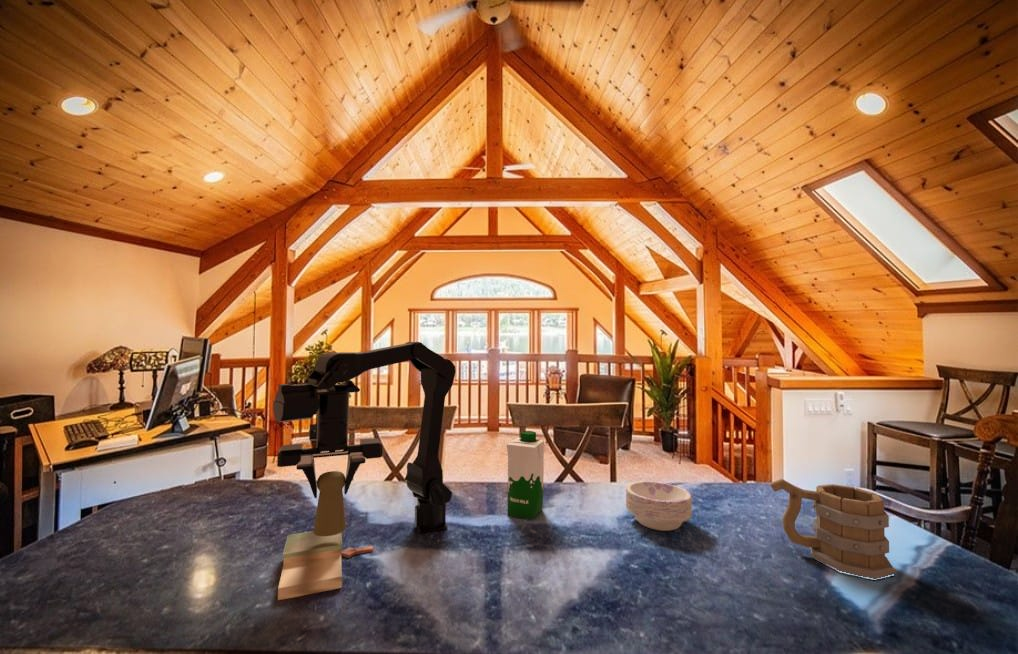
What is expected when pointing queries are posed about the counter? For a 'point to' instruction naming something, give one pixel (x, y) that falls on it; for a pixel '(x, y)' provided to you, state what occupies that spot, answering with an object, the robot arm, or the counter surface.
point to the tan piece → (313, 564)
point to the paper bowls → (659, 504)
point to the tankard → (842, 528)
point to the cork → (330, 504)
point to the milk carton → (525, 475)
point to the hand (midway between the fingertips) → (330, 495)
